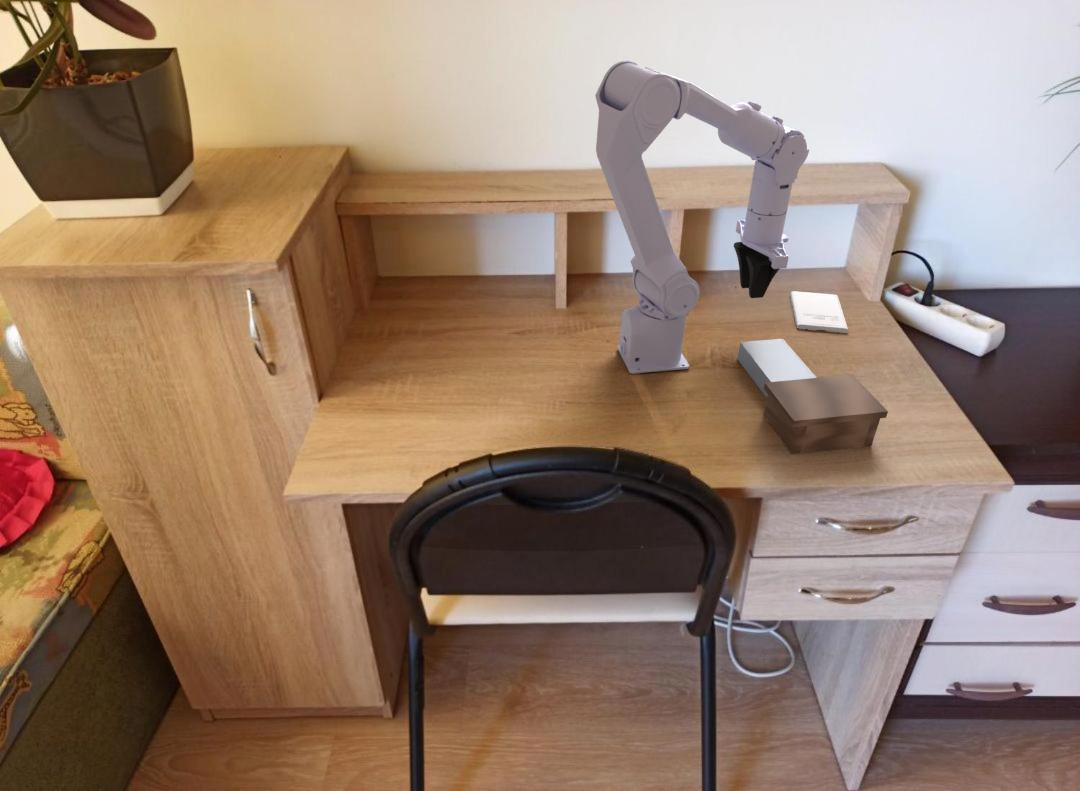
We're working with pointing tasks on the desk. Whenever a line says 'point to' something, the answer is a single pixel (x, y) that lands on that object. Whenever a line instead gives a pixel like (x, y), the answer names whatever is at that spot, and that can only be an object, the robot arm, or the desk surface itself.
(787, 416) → the brown lidded box
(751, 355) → the brushed metal plate
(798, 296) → the external hard drive
